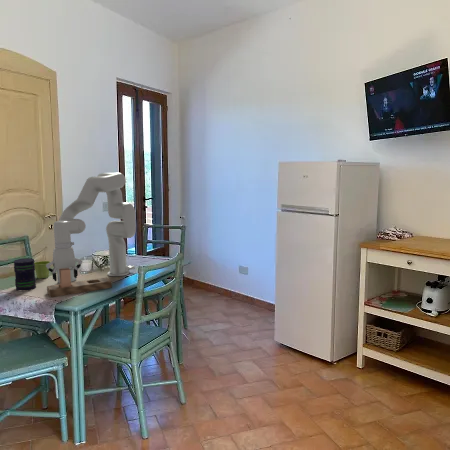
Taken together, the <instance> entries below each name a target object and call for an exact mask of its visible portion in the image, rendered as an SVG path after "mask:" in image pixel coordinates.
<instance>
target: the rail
mask: <svg viewBox="0 0 450 450" xmlns="http://www.w3.org/2000/svg"><path fill="white" fill-rule="evenodd" d="M112 285H113V284H112V280H111V279H110V278H108V277H100V278H93V279H85V280H79V281H73V282H71V287H64V288H60V283H58V284H54V285H53V284H52V285H51V284H50V285H47V286H46V290H47V292H46V293H47V294H48V296H49V297H50V298H54V297H61V296H67V295H73V294H81V293H86V292H92V291H93V292H94V291H99V290H105V289H111V288H112Z"/></svg>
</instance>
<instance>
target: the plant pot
mask: <svg viewBox="0 0 450 450" xmlns="http://www.w3.org/2000/svg"><path fill="white" fill-rule="evenodd" d="M50 262H51V261H49V260H41V261H36V262H35V261H34V264H35V273H36V274H35V276H36V277H37V279H43V278H44V279H48V278H49V277H50V271H49V270H48V268H47V267H46V265H47V264H48V263H50Z"/></svg>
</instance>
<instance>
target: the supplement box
mask: <svg viewBox="0 0 450 450" xmlns="http://www.w3.org/2000/svg"><path fill="white" fill-rule="evenodd" d="M75 266H77V265H75ZM69 269H70V274H71V282H76V281H77V278H75V277H74V268H73V267H70V268H69ZM56 277H57V283H58V284H60V275H59V269H57V271H56Z"/></svg>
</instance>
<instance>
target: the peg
mask: <svg viewBox="0 0 450 450" xmlns="http://www.w3.org/2000/svg"><path fill="white" fill-rule="evenodd" d="M59 275H60V283H59V284H60V288H64V287H71V274H70V269H69V268H63V269H59Z"/></svg>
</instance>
